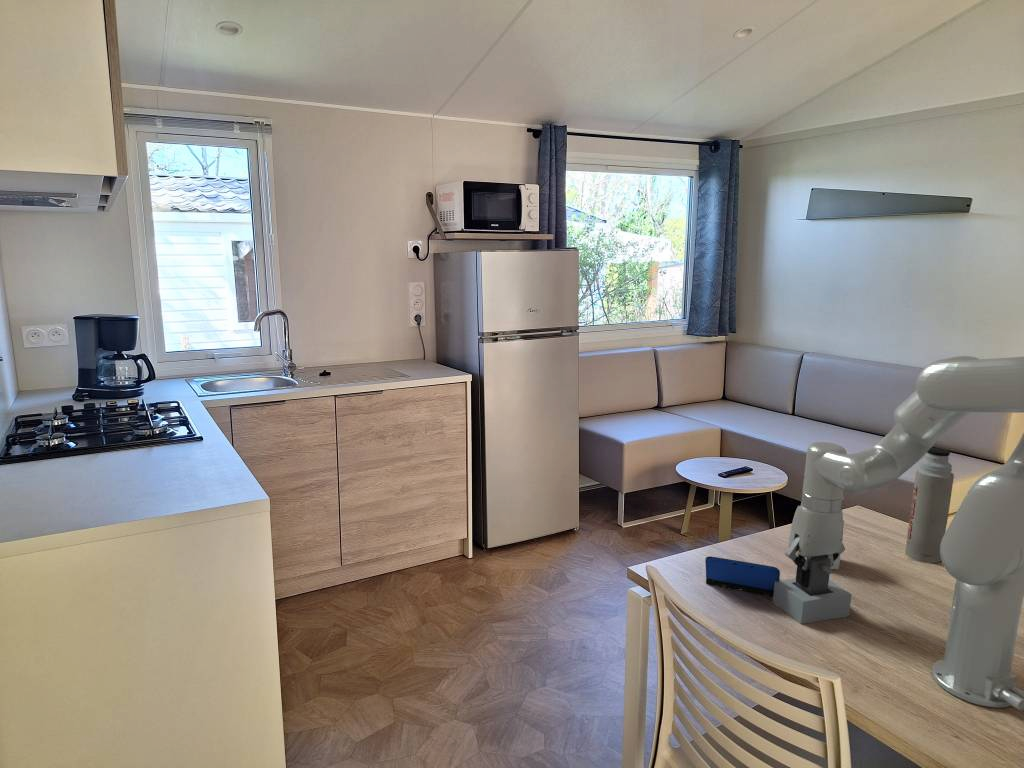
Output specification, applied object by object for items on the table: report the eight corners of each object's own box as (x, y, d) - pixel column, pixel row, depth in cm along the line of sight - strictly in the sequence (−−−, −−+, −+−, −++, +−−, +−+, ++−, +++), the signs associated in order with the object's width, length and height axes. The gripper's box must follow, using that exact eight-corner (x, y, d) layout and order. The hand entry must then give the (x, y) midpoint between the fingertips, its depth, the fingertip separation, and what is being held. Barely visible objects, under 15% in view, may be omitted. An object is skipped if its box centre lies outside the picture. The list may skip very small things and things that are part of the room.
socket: (849, 616, 142) (851, 594, 141) (800, 624, 138) (803, 601, 137) (818, 595, 150) (821, 574, 149) (772, 602, 147) (774, 581, 146)
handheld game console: (779, 581, 157) (783, 544, 155) (777, 608, 145) (781, 568, 143) (710, 568, 163) (712, 532, 161) (702, 593, 151) (705, 555, 149)
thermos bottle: (903, 557, 170) (917, 450, 164) (907, 546, 176) (920, 443, 171) (940, 566, 165) (956, 456, 160) (942, 554, 171) (958, 448, 166)
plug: (812, 584, 146) (816, 550, 145) (835, 600, 140) (839, 564, 138) (795, 587, 145) (799, 552, 144) (817, 603, 139) (821, 567, 137)
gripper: (841, 492, 146) (831, 570, 149) (774, 499, 141) (766, 579, 145) (868, 505, 138) (857, 586, 142) (799, 512, 134) (789, 596, 138)
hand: (811, 582), depth 143 cm, fingers closed on plug, 4 cm apart
